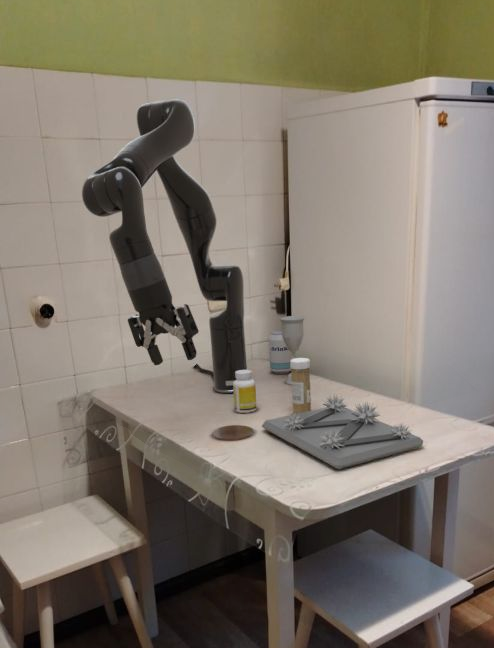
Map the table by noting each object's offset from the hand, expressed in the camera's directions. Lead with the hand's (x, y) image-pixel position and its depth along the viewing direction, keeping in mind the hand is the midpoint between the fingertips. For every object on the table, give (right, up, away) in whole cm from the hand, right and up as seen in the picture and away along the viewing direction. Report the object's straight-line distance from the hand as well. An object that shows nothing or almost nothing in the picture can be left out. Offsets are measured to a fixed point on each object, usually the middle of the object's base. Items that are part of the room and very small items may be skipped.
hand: (175, 361), depth 128 cm
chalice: (+26, +1, +54) cm, 60 cm away
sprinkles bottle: (+26, -10, +25) cm, 38 cm away
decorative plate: (+33, -16, +7) cm, 37 cm away
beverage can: (+22, +6, +66) cm, 70 cm away
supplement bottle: (+13, -8, +31) cm, 34 cm away
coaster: (+11, -14, +14) cm, 23 cm away
